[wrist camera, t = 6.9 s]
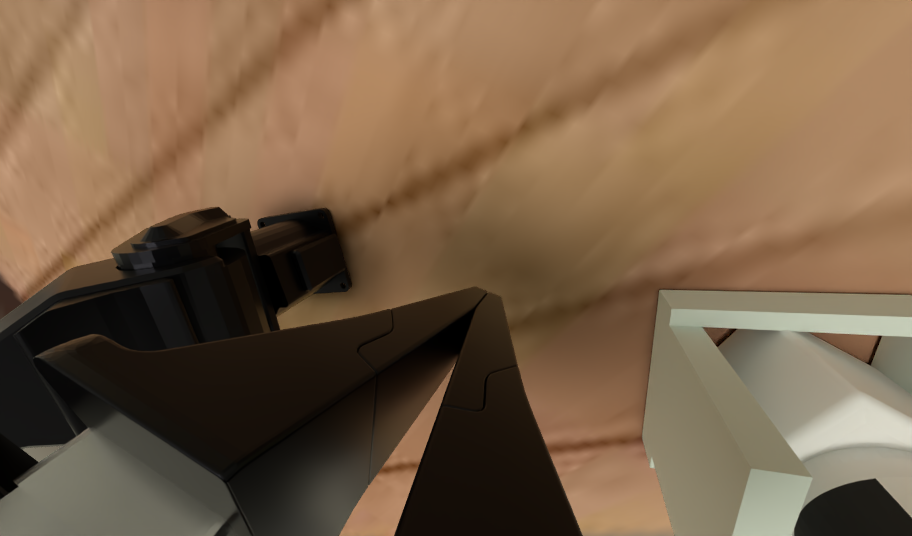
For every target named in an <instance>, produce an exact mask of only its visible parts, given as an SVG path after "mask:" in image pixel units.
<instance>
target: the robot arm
mask: <svg viewBox="0 0 912 536" xmlns="http://www.w3.org/2000/svg"><path fill="white" fill-rule="evenodd" d="M321 213H323V215H324V218H323V217H322V215H321ZM264 223H265V224H264ZM257 224H258V227H259V229H257V230H254V231H251V232H250V228H251V225H250V222H249V219H236V218H231V216H228V215H227V214H226V213H225V212H224V211H223V210H222V209H221V208H220V207H210V208H206V209H201V210H196V211H192V212H187V213H183V214H180V215H177V216H174V217H172V218H169V219H167V220H165V221H162V222H160V223H158V224H155V225H153V226H151V227H149V228H147V229H145V230H143V231H141V232H140V233H138V234H137V235H135V236H133V237H132V238H130V239H129V240H127V241H125V242H124V243H122V244H121V245H119V246H118V247H116V248H114V249H113V250H112V251H111V253H112V255H113V257H114V258H112V259H108V260H103V261H99V262H95V263H90V264H86V265H81V266H77V267H74V268H71V269H70V270H68V271H66V272H65V273H63V274H62V275H61V276H59V277H58V278H57V279H55V280H54V281H52V282H51V283H50V284H48V285H47V286H46V287H44V288H43V289H42V290H40V291H39V292H38V293H36V294H35V295H33V296H32V297H31V298H29V299H28V300H27V301H25V302H24V303H23V304H21V305H20V306H18V307H17V308H16V309H14V310H13V311H12V312H10V313H9V314H8V315H6V316H5V317H4V318H2V319H1V320H0V536H339V535H340V533H341V531H342V529H343V527H344V525H345V524H346V522H347V520H348V518H349V516H350V514H351V513H352V511H353V509H354V508H355V506H356V504H357V503H358V501H359V500H360V498H361V496H362V495H363V493H364V492H365V490H366V489H367V488H368V485H370V483H371V482H372V481H373V479H374V478H375V476H376V475H377V473H378V472H379V471H380V469H381V468H382V466H383V465H384V464H385V462H386V461H387V459H388V458H389V456H390V455H391V454H392V452H393V451H394V449H395V448H396V447H397V445H398V444H399V442H400V441H401V439H402V438H403V437H404V435H405V434H406V432H407V431H408V429H409V428H410V427H411V425H412V424H413V422H414V421H415V420H416V418H417V417H418V415H419V414H420V412H421V411H422V410H423V408H424V407H425V405H426V404H427V403H428V401H429V400H430V398H431V397H432V395H433V394H434V393H435V391H436V390H437V388H438V387H439V385H440V384H441V383H442V381H443V380H444V378H445V377H446V376H447V374H448V373H449V371H450V370H451V368H452V367H453V366H454V364H455V363H456V364H455V367H454V369H453V372H452V375H451V378H450V381H449V383H448V386H447V389H446V392H445V395H444V397H443V400H442V403H441V406H440V409H439V411H438V414H437V417H436V420H435V423H434V425H433V428H432V431H431V434H430V437H429V439H428V442H427V445H426V448H425V451H424V453H423V456H422V459H421V462H420V465H419V467H418V470H417V473H416V476H415V479H414V481H413V484H412V487H411V490H410V493H409V495H408V498H407V501H406V504H405V507H404V509H403V512H402V515H401V518H400V521H399V523H398V526H397V529H396V532H395V535H394V536H583V535H582V533H581V530H580V528H579V525H578V523H577V520H576V518H575V516H574V513H573V511H572V508H571V506H570V503H569V501H568V498H567V496H566V493H565V491H564V488H563V486H562V484H561V481H560V479H559V476H558V474H557V471H556V469H555V466H554V464H553V461H552V459H551V456H550V454H549V452H548V449H547V447H546V444H545V442H544V439H543V437H542V434H541V432H540V429H539V427H538V424H537V422H536V420H535V417H534V415H533V412H532V409H531V407H530V404H529V401H528V399H527V396H526V393H525V390H524V386H523V383H522V379H521V375H520V371H519V368H518V364H517V360H516V356H515V352H514V348H513V344H512V340H511V335H510V331H509V327H508V323H507V319H506V315H505V311H504V306H503V302H502V298H501V297H500V296H498V295H495V294H493V293H490V292H489V293H487V291H486V290H483V289H481V288H478V287H471V288H468V289H464V290H460V291H456V292H453V293H449V294H445V295H441V296H438V297H434V298H430V299H426V300H423V301H419V302H415V303H411V304H408V305H404V306H400V307H396V308H393V309H391V310H390V309H387V310H383V311H380V312H375V313H371V314H367V315H363V316H358V317H353V318H348V319H342V320H337V321H331V322H325V323H319V324H313V325H307V326H301V327H296V328H290V329H284V330H280V327H279V324H278V320H277V317H278V316H279V315H281V314H282V313H284V312H285V311H287V310H288V309H290V308H291V307H293V306H295V305H296V304H298V303H299V302H301V301H302V300H304V299H305V298H307V297H308V296H310V295H311V294H317V293H332V292H346V291H348V290H349V289H350V288H351V287H352V283H351V280H350V277H349V274H348V270H347V267H346V264H345V261H344V257H343V254H342V251H341V248H340V245H339V241H338V238H337V235H336V232H335V228H334V225H333V222H332V219H331V216H330V213H329V211H328V210H327V209H326V208H318V209H312V210H306V211H300V212H294V213H288V214H282V215H276V216H270V217H264V218H260V219H259V220H258V222H257ZM265 225H266V226H265ZM343 283H344V284H345V285H346V286H344V284H343ZM50 446H62V447H60V448H59V449H57V450H56V451H54V452H53V453H52V454H50V455H49V456H47V457H46V458H44V459H43V460H41V461H40V462H38V461H36V460H35V459H34V458H32V457H31V456H29V455H28V454H27V453H26V452H24V451H23V450H22V449H24V448H31V447H50Z"/></svg>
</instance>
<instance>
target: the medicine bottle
mask: <svg viewBox="0 0 912 536" xmlns="http://www.w3.org/2000/svg"><path fill="white" fill-rule="evenodd" d="M717 348H718V349H719V351H720V352H721V353H722V355H723V356H724V357H725V359H726V360H727V361H728V363H729V364H730V366H731V367H732V368H733V370H734V371H735V372H736V374H737V375H738V376H739V378H740V379H741V381H742V382H743V383H744V385H745V386H746V387H747V389H748V390H749V391H750V393H751V394H752V395H753V397H754V398H755V400H756V401H757V402H758V404H759V405H760V406H761V408H762V409H763V410H764V412H765V413H766V414H767V416H768V417H769V419H770V420H771V421H772V423H773V424H774V425H775V427H776V428H777V429H778V431H779V432H780V434H781V435H782V436H783V438H784V439H785V440H786V442H787V443H788V444H789V446H790V447H791V448H792V450H793V451H794V453H795V454H796V455H797V457H798V458H799V459H800V461H801V462H802V463H803V465H804V466H805V468H806V469H807V470H808V472H809V473H810V474H811V476H812V477H813V479H812V482H811V484H810V487H809V490H808V492H807V495H806V498H805V500H804V503H803V506H802V508H801V511H800V514H799V517H798V519H797V522H796V525H795V527H794V530H793V533H792V536H912V395H911V394H910V393H908V392H907V391H906V390H904V389H903V388H902V387H900V386H899V385H898V384H896V383H895V382H894V381H892V380H891V379H890V378H888V377H887V376H886V375H884V374H883V373H881V372H880V371H879V370H877V369H876V368H874V367H872V366H870V365H868V364H866V363H865V362H863V361H861V360H859V359H857V358H855V357H853V356H851V355H850V354H848V353H846V352H844V351H842V350H840V349H838V348H836V347H835V346H833V345H831V344H829V343H827V342H825V341H823V340H821V339H820V338H818V337H816V336H814V335H812V334H810V333H808V332H797V331H790V330H784V331H777V330H756V329H737V330H736V331H735V332H734V333H733V334H732V335H731V336H729V337H728V338H727V339H726V340H725V341H724V342H723V343H722V344H721V345H719V346H718V347H717Z"/></svg>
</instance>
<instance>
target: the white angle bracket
mask: <svg viewBox="0 0 912 536" xmlns="http://www.w3.org/2000/svg"><path fill="white" fill-rule="evenodd" d="M702 327H714V328H735V329H756V330H777V331H784V330H790V331H797V332H818V333H839V334H860V335H881V336H882V338H881V341H880V343H879V346H878V348H877V351H876V353H875V356H874V359H873V361H872V364H871V366H872V367H874V368H876V369H877V370H879V371H880V372H881V373H883V374H884V375H886V376H887V377H888V378H890V379H891V380H892V381H894V382H895V383H896V384H898V385H899V386H900V387H902V388H903V389H904V390H906V391H907V392H908V393H910V394H911V395H912V295H888V294H840V293H792V292H744V291H696V290H659V298H658V306H657V315H656V323H655V331H654V340H653V348H652V357H651V365H650V373H649V382H648V390H647V399H646V407H645V416H644V424H643V432H642V440H643V443H644V447H645V451H646V454H647V458H648V462H649V465H650V468H655V470H656V473H657V477H658V480H659V484H660V487H661V491H662V494H663V498H664V501H665V505H666V508H667V512H668V515H669V519H670V522H671V526H672V529H673V533H674V536H791V535H792V533H793V530H794V527H795V525H796V522H797V519H798V517H799V514H800V511H801V508H802V506H803V503H804V500H805V498H806V495H807V492H808V490H809V487H810V484H811V482H812V479H813V477H812V476H811V474H810V473H809V472H808V470H807V469H806V468H805V466H804V465H803V463H802V462H801V461H800V459H799V458H798V457H797V455H796V454H795V453H794V451H793V450H792V448H791V447H790V446H789V444H788V443H787V442H786V440H785V439H784V438H783V436H782V435H781V434H780V432H779V431H778V429H777V428H776V427H775V425H774V424H773V423H772V421H771V420H770V419H769V417H768V416H767V414H766V413H765V412H764V410H763V409H762V408H761V406H760V405H759V404H758V402H757V401H756V400H755V398H754V397H753V395H752V394H751V393H750V391H749V390H748V389H747V387H746V386H745V385H744V383H743V382H742V381H741V379H740V378H739V376H738V375H737V374H736V372H735V371H734V370H733V368H732V367H731V366H730V364H729V363H728V361H727V360H726V359H725V357H724V356H723V355H722V353H721V352H720V351H719V349H718V348H717V347H716V345H715V344H714V342H713V341H712V340H711V338H710V337H709V336H708V334H707V333H706V332H705V330H704V329H703V328H702Z"/></svg>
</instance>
